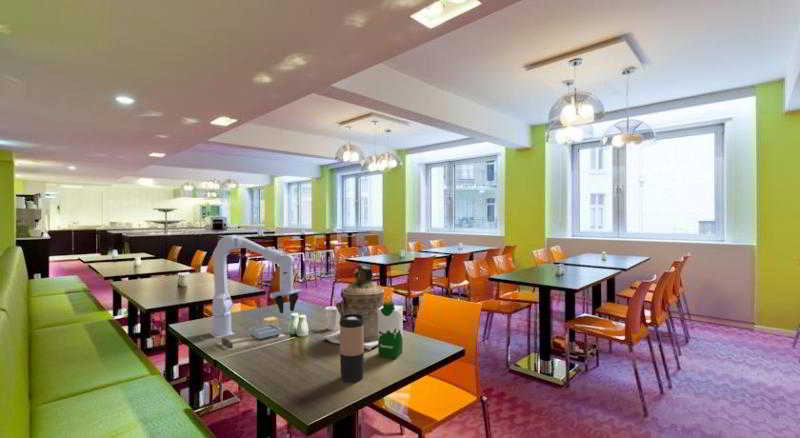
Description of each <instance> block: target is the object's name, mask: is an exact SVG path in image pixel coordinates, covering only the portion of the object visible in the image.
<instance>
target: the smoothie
mask: <svg viewBox="0 0 800 438" xmlns="http://www.w3.org/2000/svg"><path fill="white" fill-rule="evenodd" d="M324 311H325V315H326V323H327V330H330V331H335V330H337V325H338V316H339V312H338V309H337V308H336V305H335V298H332V305H331V306H326V307H325V309H324Z"/></svg>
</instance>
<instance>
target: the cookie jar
mask: <svg viewBox="0 0 800 438" xmlns="http://www.w3.org/2000/svg"><path fill="white" fill-rule="evenodd" d="M352 275H353V277H355V279H354V281H353V282H351V283H349V285H348V286H347V287H342V288H341V291H340V297H341V300H340V302H337V303H336V304H335V306H336V308H337V309H338V315H340V317H341V316H343V315H347V314H359V315H362V316H363V333H364V349H365V350H368V351H370V350H371V351H372V348H375V347H377V346H378V309H379V308H380V307H381V306H383V303H384V295H385V292H386V291H385V289H384V288H382V287H377V286H376V285H374V284H373V282H372V281H373V270H372V268H370V267H369V266H365V265H364V266H363V265H362V264H359V265H357V268H356V269H354V270H353V274H352ZM340 317H339V318H340ZM338 324H339V326H340V321H339V322H338ZM322 338H323V339H324V340H327V341H329V342H330V343H332V344H337V345H338V344H339V345H340V329H339V330H337V331H335V332H333V333H331V334H329V335H324V336H322Z"/></svg>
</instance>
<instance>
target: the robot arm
mask: <svg viewBox="0 0 800 438" xmlns="http://www.w3.org/2000/svg"><path fill="white" fill-rule="evenodd" d="M236 249H237V250H238V249H247V250H249V251H251V252H255V253H258V254H259V255H262V258H263V260H266V261H268V262H271V263H274V264H276V265H278V266H279V290H278V291H274V292H271V293H269V298H270V299H274V301H275V302H276V304H277V307H278V311H279V313H280V314H283V313H284V302H285V298H284V297H285V296H288V299H289V310H290V311H291V312H294V310H295V307H296V305H297V304H296V303H297V301H298V300H299V297H300V295H299V294H301V295H302V294H303V289H302V288H295V289H294V270H293V269H294V267H293V266H294V265H293V264H294V262H295V261H294V260H295V259H294V257H293V255H291V254H290V253H286V252H285V251H281V250H278V249H276V247H275V246H268V247H264V246H263V245H260V244H259V243H256V242H254V241H252V240H250V239H249V238H246V237H243V236H240V235H238V234H231V235H225V236H223V237H222V238H220V239H219V240H218V242H217V245H216V246H215V248H214V250H213V252H212V262H213V265H212V266H213V278H214V279H213V281H214V295H213V298H212V305H211V306H210V311H211V313H212V316H211V319H210V320H211V322H210V323H211V324H210V326H211V330H210V332H209V333H208V334H209V335H211V336H213V337H214V338H216V339H218V338H224V337H228V336H233V335H235V334H236V333H235V332H233V331H232V312H231V310H232V308H233V306H234V305H233V304H234V303H233V300H232V298H231V294H230V292H229V286H228V285H229V284H228V268H227V267H228V266H227V256H228V255H230V253H231V252H233V251H235V250H236Z"/></svg>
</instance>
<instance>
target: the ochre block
mask: <svg viewBox="0 0 800 438" xmlns="http://www.w3.org/2000/svg"><path fill="white" fill-rule="evenodd" d="M268 324H272V325H275V326H277V327H279V318H277V317H275V316H270V317H263V318H262V326H264V325H268Z"/></svg>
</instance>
